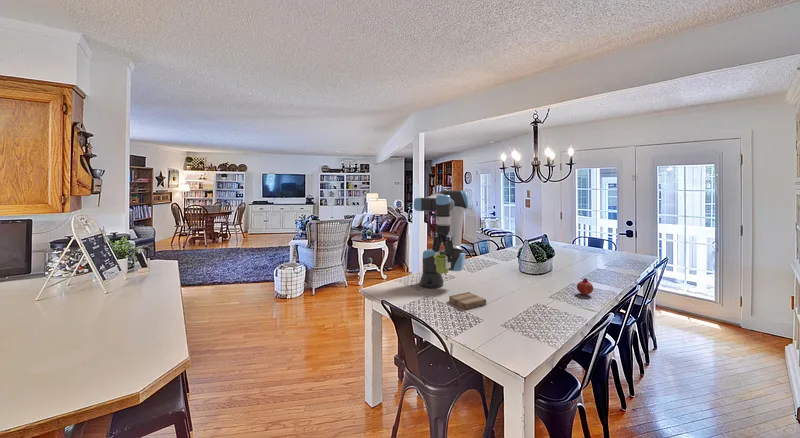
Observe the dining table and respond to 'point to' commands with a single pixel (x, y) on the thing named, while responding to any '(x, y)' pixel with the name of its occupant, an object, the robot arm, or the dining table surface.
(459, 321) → the dining table surface
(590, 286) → the fruit
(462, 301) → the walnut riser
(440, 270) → the plant pot
